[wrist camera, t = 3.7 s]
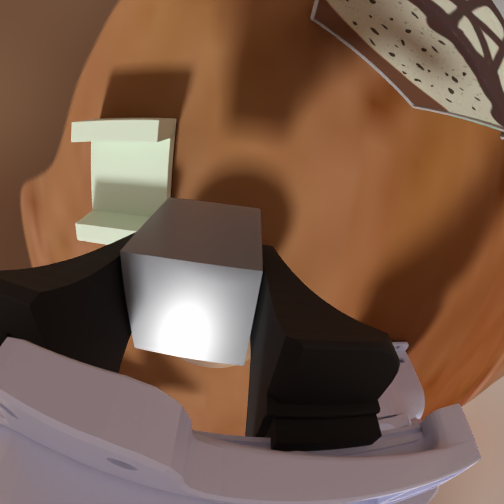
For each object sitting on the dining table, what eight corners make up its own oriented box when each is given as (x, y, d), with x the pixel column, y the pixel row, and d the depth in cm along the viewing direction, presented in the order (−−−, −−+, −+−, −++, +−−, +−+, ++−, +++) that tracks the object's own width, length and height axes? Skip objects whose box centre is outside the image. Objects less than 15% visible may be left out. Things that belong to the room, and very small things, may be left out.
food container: (459, 74, 13) (555, 79, 4) (425, 122, 15) (528, 147, 6) (338, -36, 10) (388, -107, 1) (290, 7, 12) (321, -76, 3)
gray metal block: (260, 208, 12) (262, 271, 7) (247, 285, 14) (244, 365, 9) (169, 197, 12) (120, 250, 7) (168, 274, 13) (135, 347, 9)
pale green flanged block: (176, 118, 16) (159, 120, 13) (169, 229, 20) (154, 251, 17) (99, 118, 16) (71, 122, 13) (100, 220, 19) (77, 239, 16)
